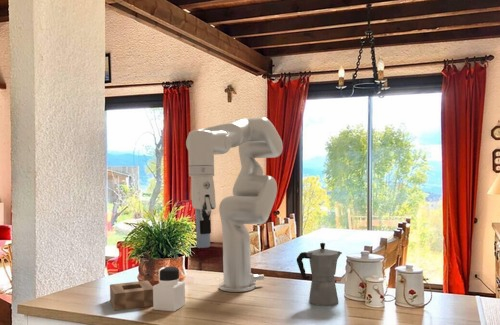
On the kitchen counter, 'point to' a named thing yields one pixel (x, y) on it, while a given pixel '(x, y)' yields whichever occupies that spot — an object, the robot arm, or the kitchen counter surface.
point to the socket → (131, 295)
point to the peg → (202, 239)
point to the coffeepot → (321, 275)
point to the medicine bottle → (168, 290)
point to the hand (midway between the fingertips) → (203, 232)
